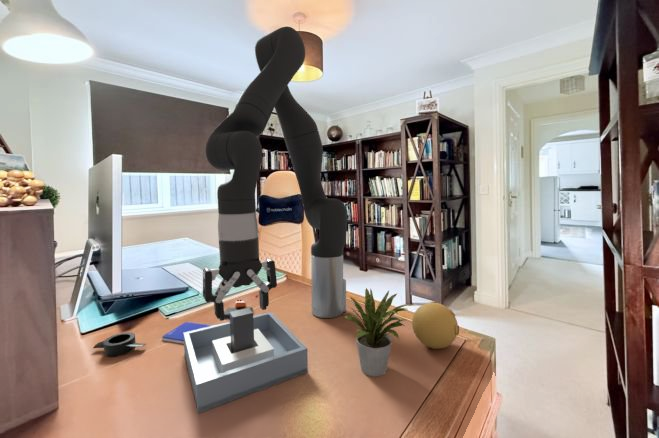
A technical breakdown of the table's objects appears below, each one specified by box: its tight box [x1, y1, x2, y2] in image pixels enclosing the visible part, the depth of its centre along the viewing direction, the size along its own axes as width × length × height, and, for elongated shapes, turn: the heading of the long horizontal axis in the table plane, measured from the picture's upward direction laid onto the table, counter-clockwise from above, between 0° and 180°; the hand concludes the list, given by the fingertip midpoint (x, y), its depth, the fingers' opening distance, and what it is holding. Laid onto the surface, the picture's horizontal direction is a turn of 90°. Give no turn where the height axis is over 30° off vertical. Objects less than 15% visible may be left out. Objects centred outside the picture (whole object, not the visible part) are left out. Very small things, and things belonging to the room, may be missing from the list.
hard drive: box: [161, 321, 212, 345], centre depth 73 cm, size 2×8×12 cm
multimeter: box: [224, 294, 258, 319], centre depth 91 cm, size 18×12×3 cm, turn 176°
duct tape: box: [92, 331, 147, 358], centre depth 66 cm, size 8×10×3 cm
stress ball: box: [411, 302, 460, 350], centre depth 67 cm, size 10×10×10 cm
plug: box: [229, 308, 254, 354], centre depth 61 cm, size 4×3×10 cm
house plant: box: [344, 287, 414, 377], centre depth 57 cm, size 14×14×16 cm
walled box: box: [183, 311, 309, 414], centre depth 61 cm, size 20×20×5 cm
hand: (242, 313), depth 60 cm, fingers open, 8 cm apart
